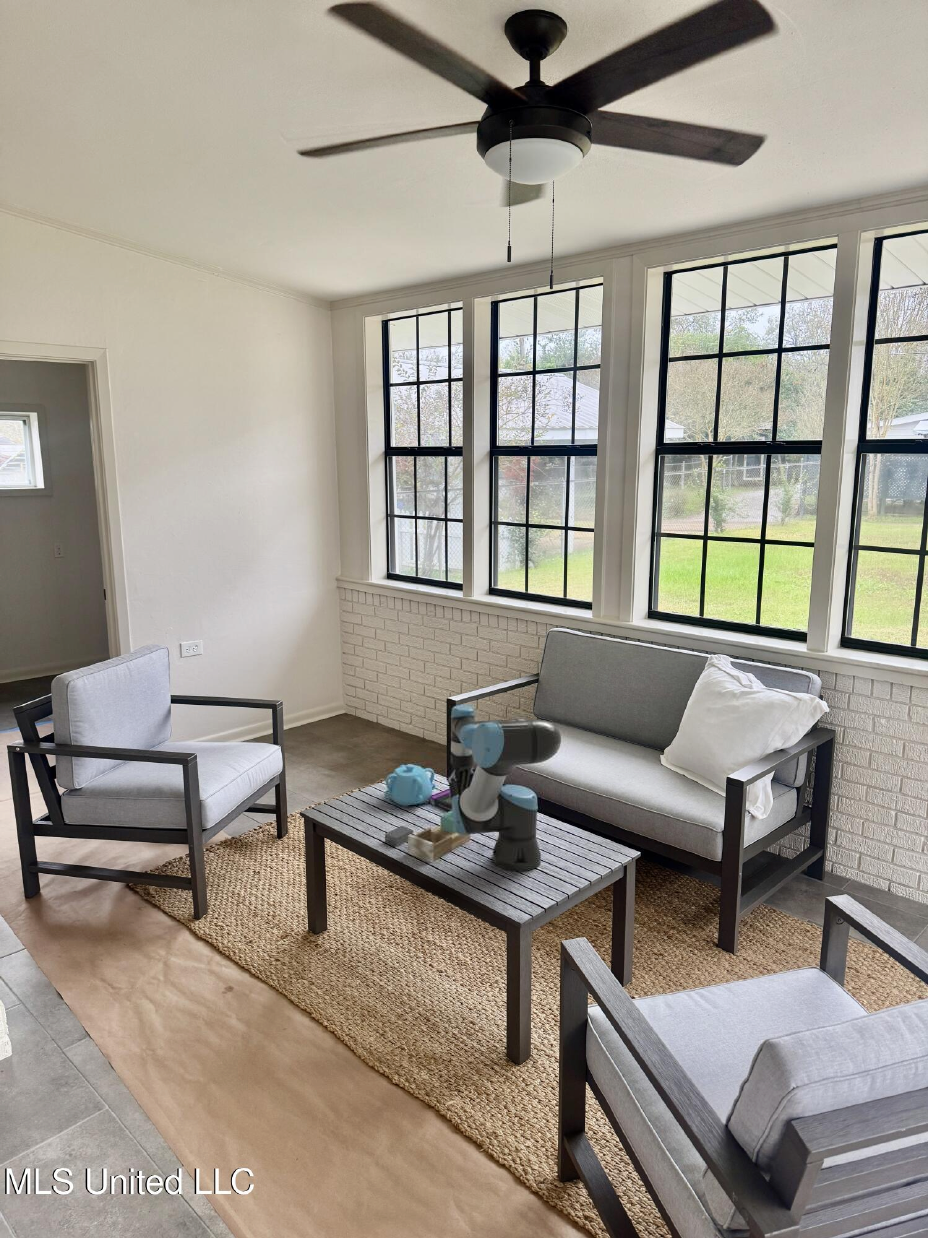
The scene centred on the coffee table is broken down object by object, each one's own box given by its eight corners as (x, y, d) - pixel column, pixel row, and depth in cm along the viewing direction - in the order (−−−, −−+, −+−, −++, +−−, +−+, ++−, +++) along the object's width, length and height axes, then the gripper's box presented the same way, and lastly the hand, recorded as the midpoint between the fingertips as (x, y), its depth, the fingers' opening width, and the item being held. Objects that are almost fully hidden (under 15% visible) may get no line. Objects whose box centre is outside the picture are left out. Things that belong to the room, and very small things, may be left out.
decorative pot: (401, 789, 307) (401, 754, 305) (439, 796, 301) (439, 761, 298) (379, 804, 293) (379, 768, 290) (418, 812, 286) (418, 776, 284)
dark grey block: (412, 838, 266) (413, 830, 265) (396, 847, 260) (396, 838, 259) (401, 834, 269) (401, 825, 268) (385, 842, 263) (385, 833, 262)
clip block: (464, 828, 265) (464, 815, 264) (453, 833, 261) (453, 820, 260) (451, 823, 269) (451, 810, 268) (440, 828, 264) (440, 816, 264)
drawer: (471, 840, 266) (471, 823, 264) (430, 862, 250) (431, 844, 249) (448, 831, 271) (448, 815, 270) (407, 853, 256) (408, 835, 255)
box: (428, 805, 295) (465, 821, 281) (427, 796, 294) (465, 811, 281) (455, 794, 305) (493, 809, 291) (455, 785, 304) (493, 800, 290)
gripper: (465, 745, 271) (464, 811, 275) (440, 755, 261) (439, 823, 265) (483, 750, 266) (482, 817, 271) (458, 760, 256) (457, 830, 261)
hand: (461, 820), depth 268 cm, fingers closed
